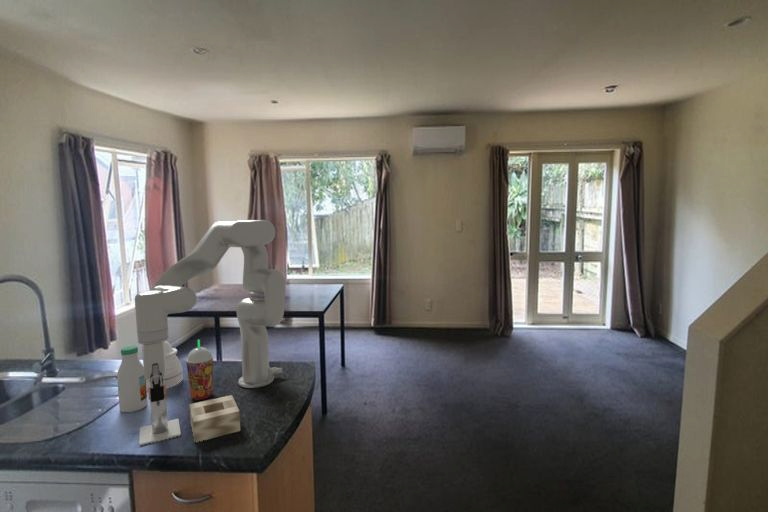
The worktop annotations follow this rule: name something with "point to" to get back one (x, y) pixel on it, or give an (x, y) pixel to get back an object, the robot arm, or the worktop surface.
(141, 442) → the white square plate
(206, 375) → the smoothie
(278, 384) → the worktop surface
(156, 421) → the copper capped bottle
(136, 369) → the milk bottle
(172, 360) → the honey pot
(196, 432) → the birch eye block
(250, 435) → the worktop surface
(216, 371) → the worktop surface
